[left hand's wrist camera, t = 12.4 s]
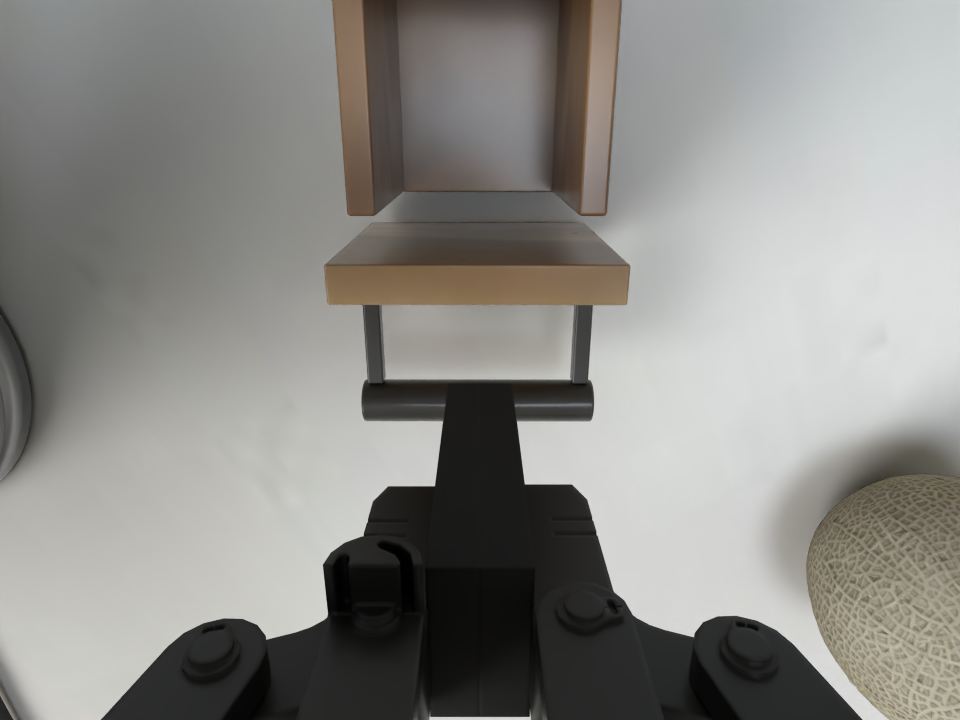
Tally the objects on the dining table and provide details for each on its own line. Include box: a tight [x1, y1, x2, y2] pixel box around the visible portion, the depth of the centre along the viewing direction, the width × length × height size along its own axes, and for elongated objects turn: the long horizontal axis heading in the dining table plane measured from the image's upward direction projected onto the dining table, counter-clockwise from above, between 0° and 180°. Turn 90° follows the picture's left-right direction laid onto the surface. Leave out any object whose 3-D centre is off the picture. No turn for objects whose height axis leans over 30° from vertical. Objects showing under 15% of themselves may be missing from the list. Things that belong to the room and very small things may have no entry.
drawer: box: [324, 0, 630, 421], centre depth 20 cm, size 22×9×8 cm, turn 0°
